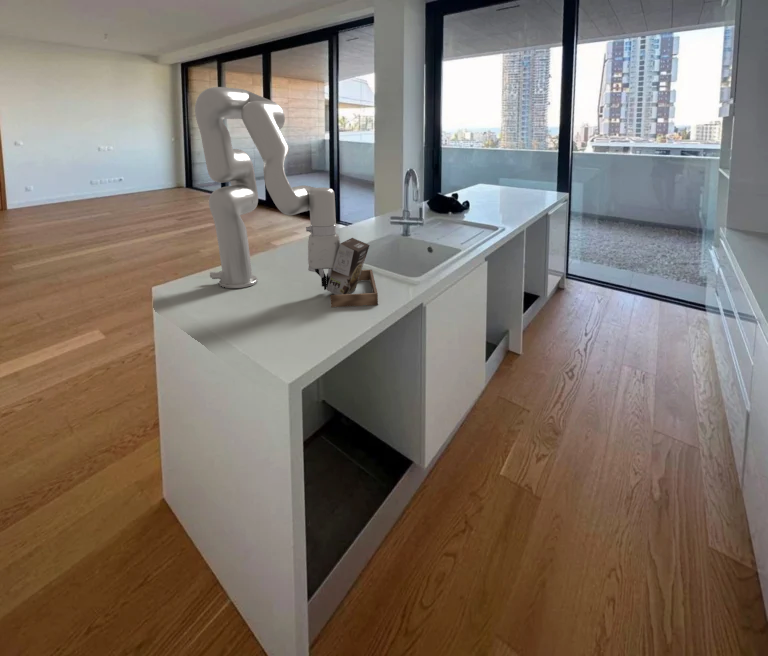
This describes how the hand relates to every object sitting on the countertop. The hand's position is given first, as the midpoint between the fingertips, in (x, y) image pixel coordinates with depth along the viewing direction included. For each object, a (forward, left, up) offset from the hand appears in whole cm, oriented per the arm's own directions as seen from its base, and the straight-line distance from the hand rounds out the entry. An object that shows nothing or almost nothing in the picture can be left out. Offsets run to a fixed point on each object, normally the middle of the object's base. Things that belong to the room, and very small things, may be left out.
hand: (326, 288), depth 157 cm
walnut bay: (+8, 0, -2) cm, 8 cm away
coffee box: (+4, -1, -1) cm, 5 cm away
